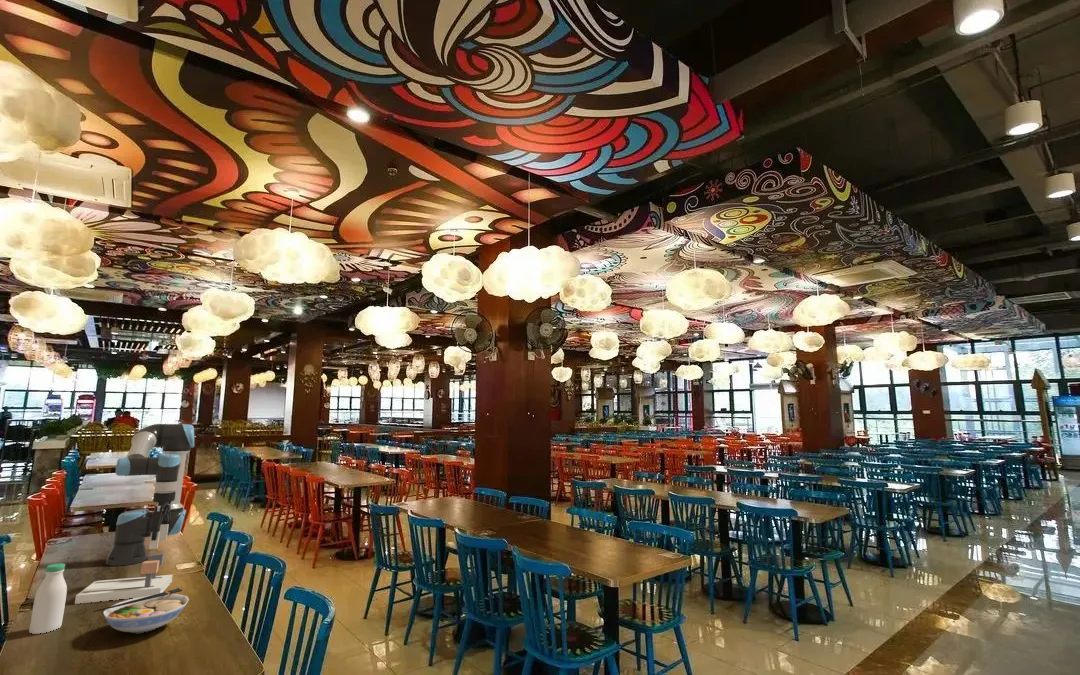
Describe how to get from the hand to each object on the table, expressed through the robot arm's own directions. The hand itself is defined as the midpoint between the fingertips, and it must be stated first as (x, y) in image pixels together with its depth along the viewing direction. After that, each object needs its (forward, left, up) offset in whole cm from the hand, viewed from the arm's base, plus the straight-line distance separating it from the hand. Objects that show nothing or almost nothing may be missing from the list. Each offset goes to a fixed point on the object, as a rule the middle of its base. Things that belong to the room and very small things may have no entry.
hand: (157, 544), depth 212 cm
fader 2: (+12, +1, -13) cm, 18 cm away
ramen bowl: (+50, +10, -16) cm, 54 cm away
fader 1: (0, 0, -13) cm, 13 cm away
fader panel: (+6, -7, -16) cm, 19 cm away
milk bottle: (+40, -19, -16) cm, 47 cm away
